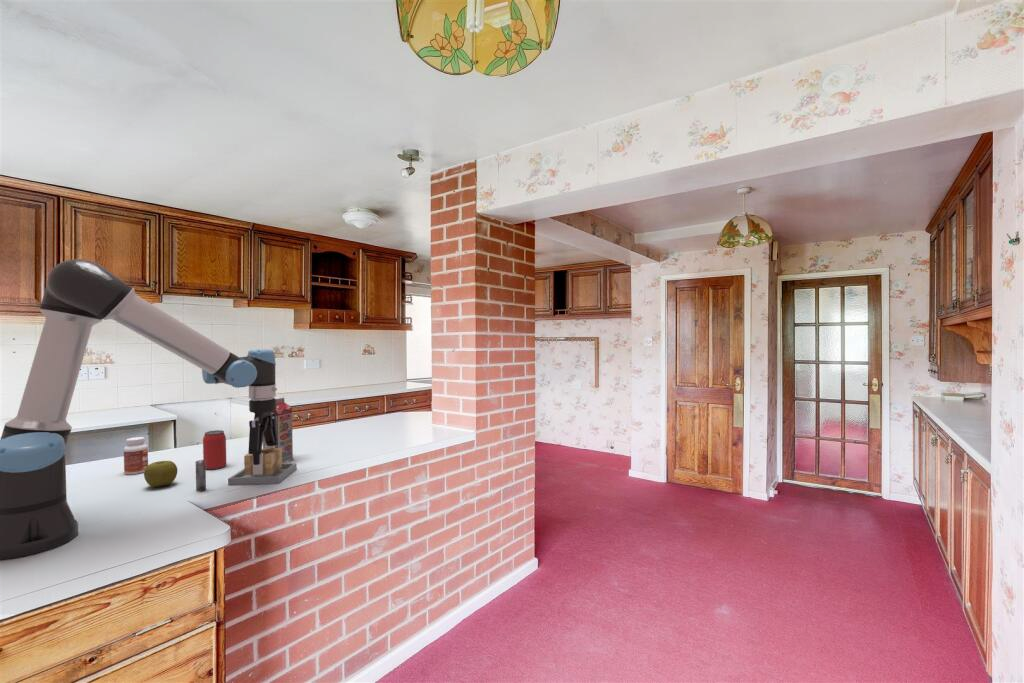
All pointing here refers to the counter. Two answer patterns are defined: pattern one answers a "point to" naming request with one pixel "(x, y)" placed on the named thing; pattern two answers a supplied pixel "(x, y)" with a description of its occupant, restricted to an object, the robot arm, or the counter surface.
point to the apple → (160, 473)
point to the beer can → (214, 449)
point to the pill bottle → (135, 456)
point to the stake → (200, 475)
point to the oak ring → (265, 461)
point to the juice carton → (283, 429)
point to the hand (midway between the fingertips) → (264, 469)
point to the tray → (263, 476)
